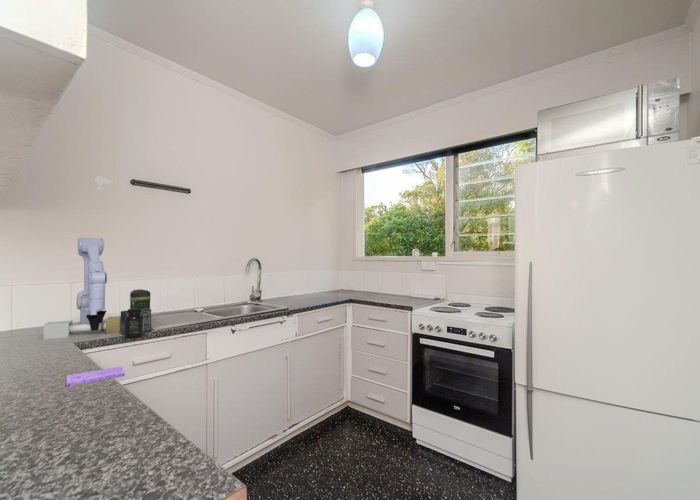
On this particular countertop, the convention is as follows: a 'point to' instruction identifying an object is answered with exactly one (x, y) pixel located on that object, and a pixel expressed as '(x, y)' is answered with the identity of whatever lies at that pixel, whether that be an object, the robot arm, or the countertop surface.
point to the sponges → (94, 375)
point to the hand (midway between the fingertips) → (96, 328)
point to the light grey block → (57, 330)
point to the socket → (113, 325)
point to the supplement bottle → (134, 323)
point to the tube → (85, 327)
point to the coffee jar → (140, 299)
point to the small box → (147, 320)
